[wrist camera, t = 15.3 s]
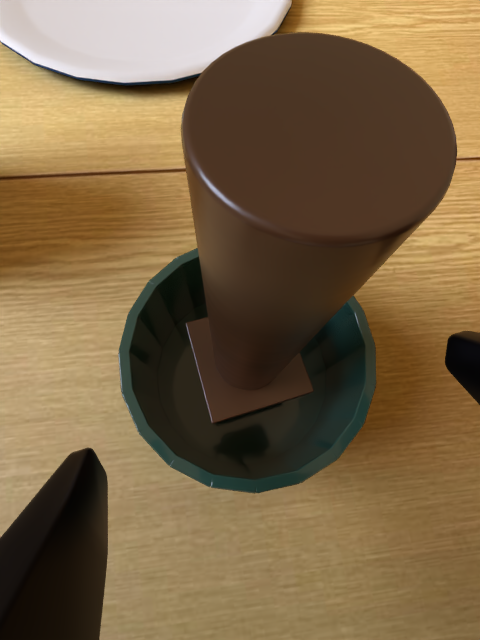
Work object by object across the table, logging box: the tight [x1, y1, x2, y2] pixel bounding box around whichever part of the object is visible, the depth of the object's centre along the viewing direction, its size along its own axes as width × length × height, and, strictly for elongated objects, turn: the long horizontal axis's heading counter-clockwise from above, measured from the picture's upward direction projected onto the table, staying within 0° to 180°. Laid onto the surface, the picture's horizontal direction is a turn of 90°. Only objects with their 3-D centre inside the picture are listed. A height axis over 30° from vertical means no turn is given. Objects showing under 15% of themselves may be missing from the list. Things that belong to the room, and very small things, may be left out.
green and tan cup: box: [118, 248, 376, 493], centre depth 14 cm, size 9×9×6 cm
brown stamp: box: [181, 32, 457, 424], centre depth 10 cm, size 4×4×14 cm
